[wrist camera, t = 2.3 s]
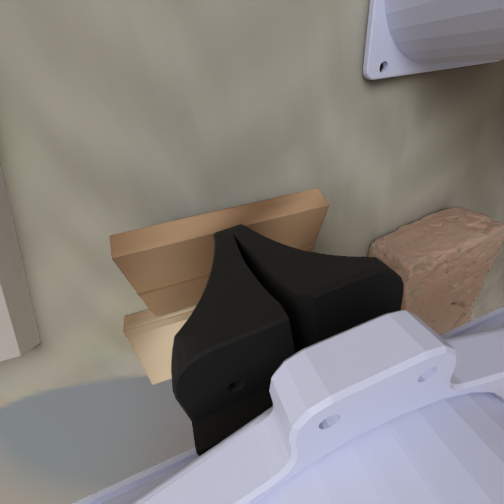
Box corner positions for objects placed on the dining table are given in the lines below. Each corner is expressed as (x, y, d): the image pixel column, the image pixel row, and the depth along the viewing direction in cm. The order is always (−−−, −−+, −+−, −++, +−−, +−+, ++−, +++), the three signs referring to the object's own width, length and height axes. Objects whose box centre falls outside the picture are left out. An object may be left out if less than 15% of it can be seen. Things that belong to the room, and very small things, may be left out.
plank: (318, 187, 14) (330, 206, 13) (294, 259, 20) (302, 274, 19) (109, 235, 12) (111, 259, 11) (152, 299, 18) (155, 317, 17)
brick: (430, 324, 32) (469, 356, 28) (367, 355, 31) (398, 393, 27) (451, 196, 23) (514, 219, 19) (361, 236, 22) (408, 269, 18)
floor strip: (306, 263, 21) (315, 274, 20) (305, 319, 24) (313, 331, 23) (124, 316, 18) (123, 331, 17) (152, 370, 21) (152, 386, 20)
